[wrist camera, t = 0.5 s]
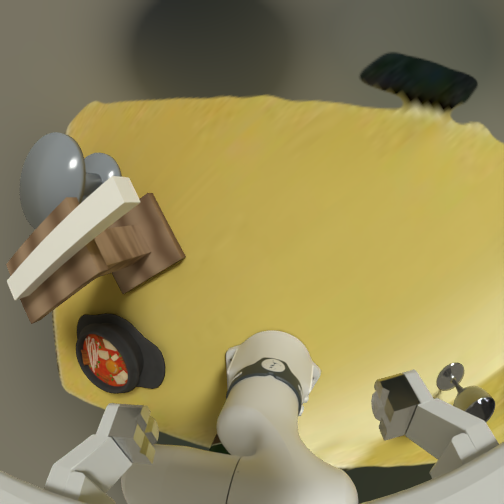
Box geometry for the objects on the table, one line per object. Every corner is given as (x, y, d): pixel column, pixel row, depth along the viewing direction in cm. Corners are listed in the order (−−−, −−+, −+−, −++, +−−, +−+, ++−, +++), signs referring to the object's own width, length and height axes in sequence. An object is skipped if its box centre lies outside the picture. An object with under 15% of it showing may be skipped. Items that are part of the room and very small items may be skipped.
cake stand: (123, 233, 59) (73, 241, 43) (65, 219, 61) (16, 224, 46) (136, 146, 55) (89, 131, 40) (76, 143, 58) (28, 133, 43)
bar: (129, 177, 29) (112, 175, 26) (140, 202, 29) (124, 202, 26) (21, 276, 34) (6, 280, 31) (29, 295, 34) (14, 300, 31)
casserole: (82, 359, 66) (62, 372, 58) (82, 295, 63) (59, 304, 55) (164, 399, 63) (149, 419, 55) (173, 333, 60) (155, 349, 51)
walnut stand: (156, 190, 56) (61, 183, 31) (190, 254, 56) (106, 288, 31) (96, 236, 60) (2, 252, 35) (124, 293, 60) (37, 336, 35)
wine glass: (436, 365, 51) (463, 405, 36) (467, 357, 49) (499, 391, 34) (433, 395, 51) (456, 437, 37) (463, 386, 50) (490, 424, 35)
